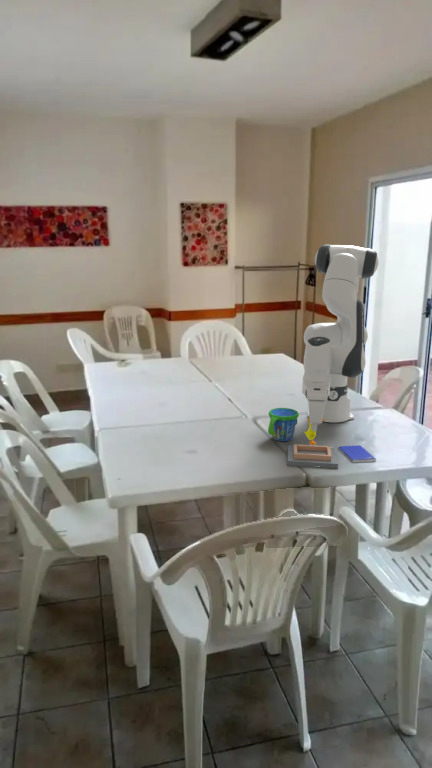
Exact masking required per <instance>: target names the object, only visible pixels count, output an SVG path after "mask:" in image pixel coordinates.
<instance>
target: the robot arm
mask: <svg viewBox="0 0 432 768" xmlns="http://www.w3.org/2000/svg"><path fill="white" fill-rule="evenodd" d="M314 264H315V269H316V270H317V272H318V273H321V274H323V275H325V276H324V280H323V285H322V290H321V292H322V293H321V298H322V301H323V303H324V304H325V305H326V309H327V310H328V312H330V313H331V314H332V315H334V316H336V318H337V320H336V321H335V322H318V323H314V324H310V325H308V326H307V327H306V328H305V330H304V333H303V342H304V345H305V349H304V355H303V371H304V373H303V375H302V386H301V393H302V394H303V395H304V396H305V399H306V400H307V403H308V405H307V406H308V412H307V415H306V417H308V419H309V418H310V423H311V424H312V425H311V430H312V431H316V432H317V430H318V426H319V425H322V424H323V422H325V423H326V422H327V423H343V422H347V421H350V420H354V419H355V415H354V414H353V413H352V412H351V402H352V401H351V398H350V397H349V396H348V390H349V389H348V378H352V379H354V378H356V377H358V376H360V375H361V374H362V373H364V371H365V368H366V362H367V361H366V354H365V345H366V343H367V342H368V339H369V338H368V337H369V333H368V330H367V328H366V326H365V312H364V311H365V310H364V306H363V305H364V304H363V302H362V301H361V300H360V299H359V298H358V294H359V293H358V291H359V287H360V285H359V284H360V278H361V279H362V280H364V279H370V278H371V277H373V276H374V274H375V273H376V271H377V270H378V266H379V257H378V253H377V251H376V250H374V249H372V248H368V247H367V248H366V247H360V246H356V245H351V244H350V245H342V244H341V245H340V244H333V245H332V244H331V243H330V244H321V246H319V248H318V250H317V251H316V254H315V257H314ZM323 418H324V419H325V420H324V421H323V422H322V420H323Z"/></svg>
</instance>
